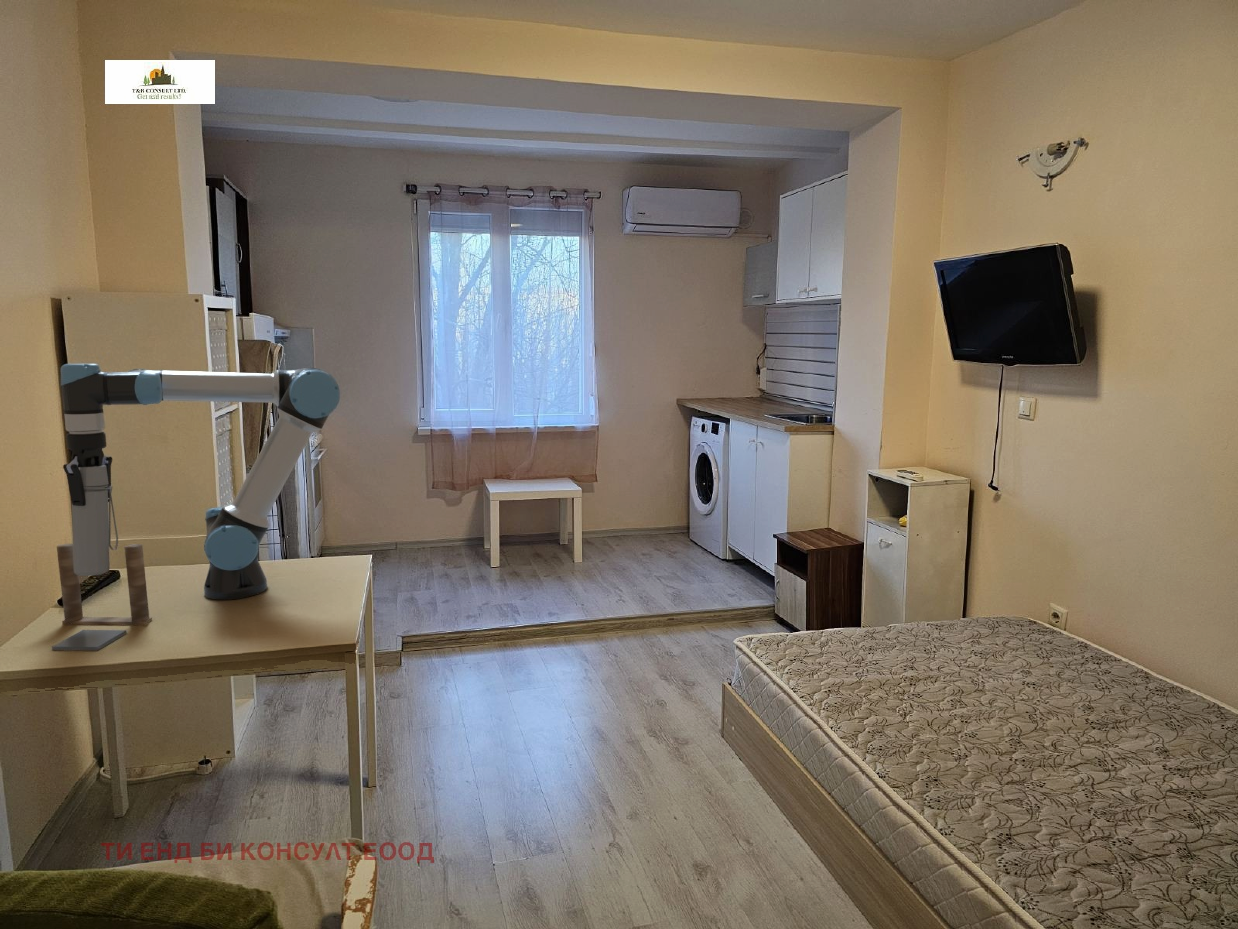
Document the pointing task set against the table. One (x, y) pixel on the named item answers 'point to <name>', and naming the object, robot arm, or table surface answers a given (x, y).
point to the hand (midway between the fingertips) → (95, 532)
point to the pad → (89, 640)
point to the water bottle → (93, 524)
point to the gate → (73, 594)
